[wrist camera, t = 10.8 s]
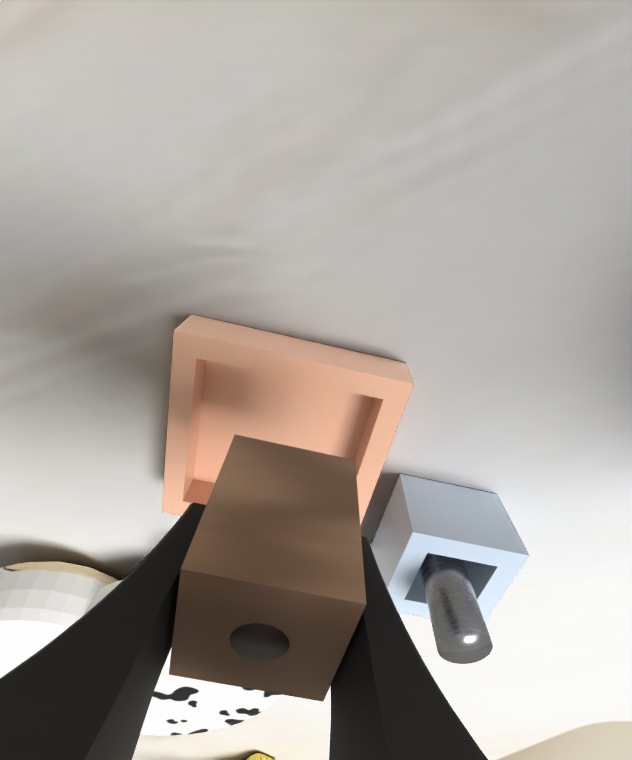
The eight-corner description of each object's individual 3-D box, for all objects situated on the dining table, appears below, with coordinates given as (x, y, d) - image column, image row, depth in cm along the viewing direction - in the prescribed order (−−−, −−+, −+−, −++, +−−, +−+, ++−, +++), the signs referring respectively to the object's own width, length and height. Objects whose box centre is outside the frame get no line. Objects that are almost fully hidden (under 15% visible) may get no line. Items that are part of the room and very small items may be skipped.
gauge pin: (454, 509, 22) (501, 637, 16) (440, 536, 23) (479, 667, 17) (416, 501, 22) (449, 627, 16) (404, 529, 23) (429, 658, 17)
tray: (405, 362, 18) (413, 384, 16) (350, 517, 23) (351, 549, 21) (191, 314, 18) (173, 330, 16) (177, 482, 22) (161, 511, 20)
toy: (46, 440, 21) (-79, 626, 28) (-9, 507, 17) (-141, 708, 23) (344, 582, 29) (195, 701, 36) (356, 651, 25) (185, 771, 32)
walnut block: (355, 459, 13) (366, 604, 8) (326, 544, 15) (322, 701, 10) (234, 434, 13) (180, 569, 8) (219, 523, 14) (168, 674, 10)
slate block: (497, 494, 22) (529, 555, 18) (459, 561, 24) (481, 628, 20) (399, 473, 21) (412, 532, 18) (371, 544, 24) (377, 608, 20)
